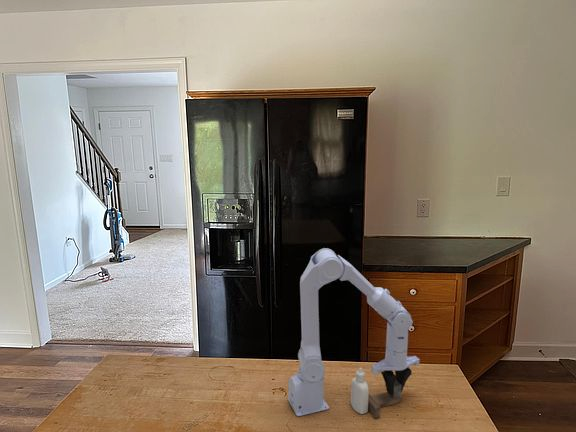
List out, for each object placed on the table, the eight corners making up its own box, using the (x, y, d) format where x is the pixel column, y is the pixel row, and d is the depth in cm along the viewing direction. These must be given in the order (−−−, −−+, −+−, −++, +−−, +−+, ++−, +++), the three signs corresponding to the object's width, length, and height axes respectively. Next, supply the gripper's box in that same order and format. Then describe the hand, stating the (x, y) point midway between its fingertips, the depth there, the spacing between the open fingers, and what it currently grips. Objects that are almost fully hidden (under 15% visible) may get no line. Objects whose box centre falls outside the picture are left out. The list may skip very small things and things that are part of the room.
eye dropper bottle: (366, 402, 109) (367, 362, 107) (368, 415, 104) (370, 374, 102) (350, 401, 109) (351, 362, 107) (352, 414, 104) (353, 373, 102)
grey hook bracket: (375, 418, 102) (376, 401, 101) (355, 394, 112) (355, 378, 111) (409, 409, 105) (410, 393, 105) (386, 386, 116) (387, 371, 115)
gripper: (409, 336, 114) (407, 379, 116) (366, 345, 109) (364, 388, 111) (425, 348, 107) (422, 392, 109) (380, 357, 102) (378, 403, 105)
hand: (394, 391), depth 110 cm, fingers closed on grey hook bracket, 2 cm apart
